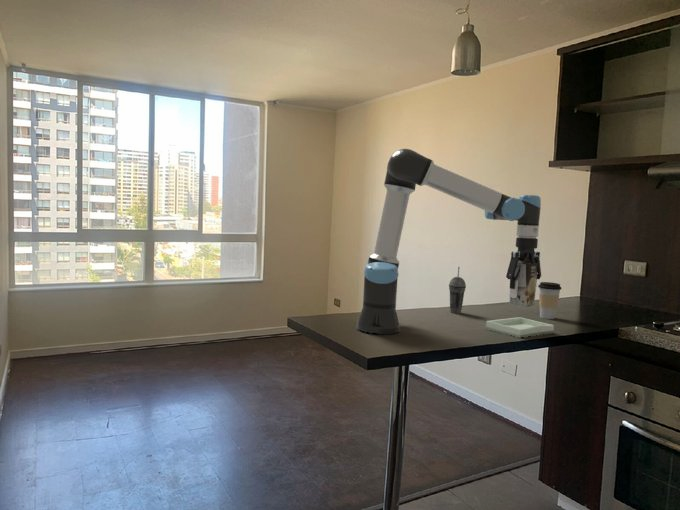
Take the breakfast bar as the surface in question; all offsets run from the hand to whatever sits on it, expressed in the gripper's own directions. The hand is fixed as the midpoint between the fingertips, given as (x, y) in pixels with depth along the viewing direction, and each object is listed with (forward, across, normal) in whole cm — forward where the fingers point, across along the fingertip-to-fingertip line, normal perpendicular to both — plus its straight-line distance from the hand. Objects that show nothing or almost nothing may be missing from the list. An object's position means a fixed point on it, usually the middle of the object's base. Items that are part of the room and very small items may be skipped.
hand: (522, 296), depth 191 cm
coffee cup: (+13, +35, +12) cm, 39 cm away
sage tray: (+13, 0, 0) cm, 13 cm away
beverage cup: (+13, +3, +35) cm, 38 cm away
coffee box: (+3, 0, 0) cm, 3 cm away
